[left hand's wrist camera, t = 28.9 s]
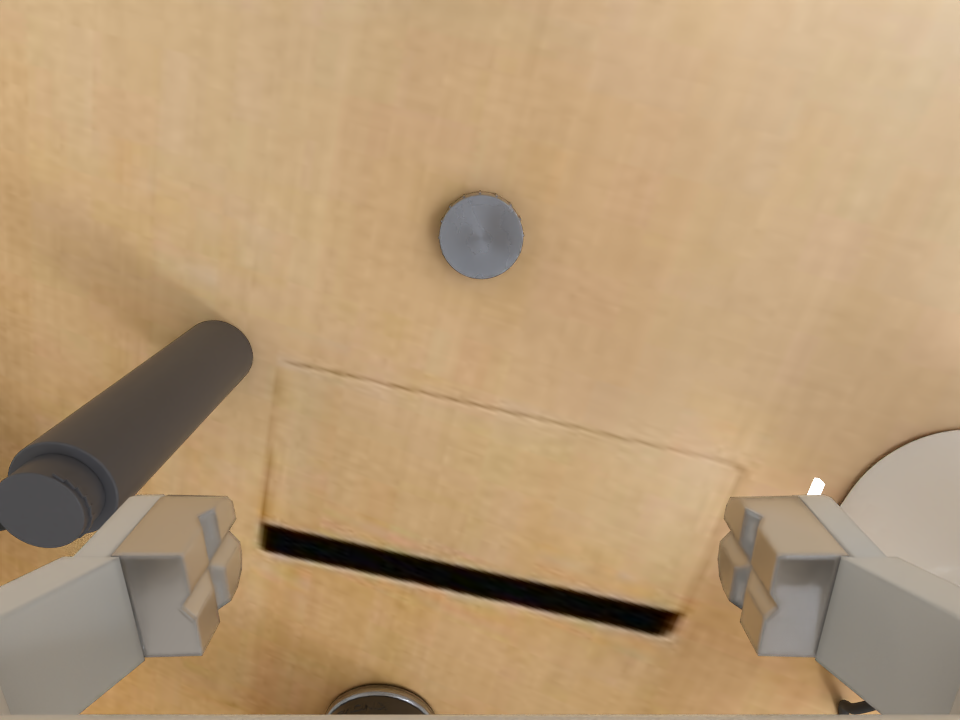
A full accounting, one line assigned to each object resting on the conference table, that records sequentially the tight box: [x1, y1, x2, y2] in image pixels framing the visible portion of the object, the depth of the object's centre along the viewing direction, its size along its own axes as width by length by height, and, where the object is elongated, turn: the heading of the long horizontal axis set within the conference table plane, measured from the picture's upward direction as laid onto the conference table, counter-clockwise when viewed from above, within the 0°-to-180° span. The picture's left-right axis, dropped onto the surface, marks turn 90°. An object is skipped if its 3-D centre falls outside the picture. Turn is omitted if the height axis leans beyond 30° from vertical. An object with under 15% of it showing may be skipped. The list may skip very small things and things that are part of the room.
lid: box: [438, 190, 524, 279], centre depth 36 cm, size 5×5×2 cm
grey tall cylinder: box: [0, 321, 253, 548], centre depth 32 cm, size 4×4×18 cm
